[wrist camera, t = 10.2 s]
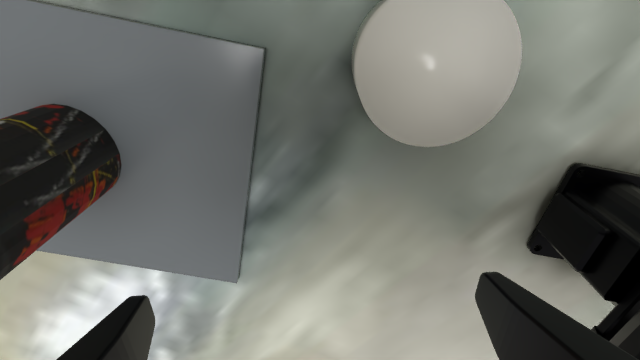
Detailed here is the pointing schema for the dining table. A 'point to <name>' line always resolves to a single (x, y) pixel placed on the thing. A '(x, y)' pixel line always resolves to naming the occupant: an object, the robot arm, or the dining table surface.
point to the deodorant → (49, 175)
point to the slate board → (145, 131)
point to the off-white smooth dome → (436, 67)
